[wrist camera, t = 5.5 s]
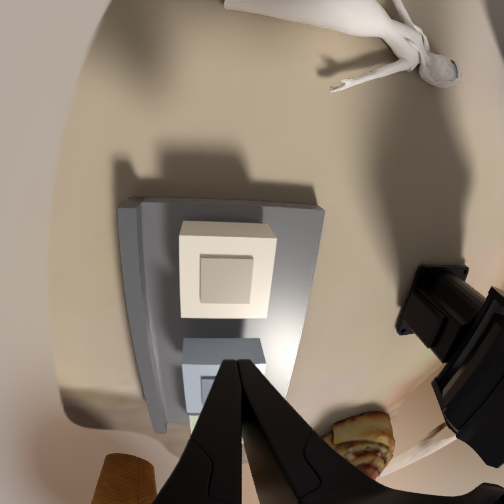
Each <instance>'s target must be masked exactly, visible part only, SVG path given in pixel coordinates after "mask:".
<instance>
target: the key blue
mask: <svg viewBox="0 0 504 504" xmlns="http://www.w3.org/2000/svg"><path fill="white" fill-rule="evenodd" d="M224 359H235V360H236V361H237V359H250V360H251V361H252V362H253V363H254V364H255V365H256V366H257V368H258V369H259V370H260V371H261V372H262V373H263V375H264V374H265V368H266V360H265V356H264V353H263V349H262V345H261V341H260V338H184V341H183V355H182V371H183V382H184V391H185V401H186V409H187V413H200V412H201V410H202V408H203V405H204V403H205V401H206V398H207V396H208V394H209V391H210V389H211V386H212V384H213V382H214V379H215V377H216V375H217V372H218V370H219V367H220V365H221V363H222V360H224Z"/></svg>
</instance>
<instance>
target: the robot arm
mask: <svg viewBox="0 0 504 504" xmlns="http://www.w3.org/2000/svg"><path fill="white" fill-rule="evenodd" d="M468 271H469V268H468V267H467V266H466V265H421V266H420V267H419V268H418V270H417V273H416V276H415V279H414V282H413V285H412V288H411V291H410V294H409V297H408V300H407V303H406V305H405V308H404V311H403V314H402V316H401V319H400V321H399V324H398V327H397V329H396V331H397V333H398V334H399V335H408V334H414V333H415V334H416V335H417V337H418V338H419V339H420V340H421V341H422V342H423V344H424V345H425V346H426V347H427V348H430V349H431V350H432V351H433V353H434V354H435V355H436V356H437V357H438V359H439V360H440V361H441V362H442V363H447V364H446V365H445V366H444V368H443V369H442V371H441V372H440V373H439V375H438V376H437V377H435V378H434V380H433V381H432V382H431V384H432V387H433V389H434V392H435V395H436V397H437V400H438V402H439V405H440V408H441V411H442V413H443V416H444V419H445V421H446V423H447V426H448V428H449V429H451V430H452V431H453V432H454V433H455V434H456V437H457V438H458V439H460V440H462V441H463V442H465V443H467V444H468V445H469V446H470V447H471V448H473V449H474V450H475V451H476V453H477V454H478V455H479V456H480V457H481V458H482V460H483V461H484V462H485V464H486V465H488V466H492V467H495V468H500V467H501V466H502V465H503V464H504V291H503V290H501V289H498V288H495V287H493V286H491V288H490V290H489V292H488V293H489V294H488V296H487V298H485V297H484V296H483V295H481V294H480V293H479V292H478V291H476V290H475V289H474V288H472V287H471V286H470V285H469V284H467V283H466V282H465V280H466V277H467V274H468ZM422 272H423V273H422ZM242 439H243V443H244V447H245V451H246V454H247V458H248V462H249V466H250V470H251V473H252V477H253V481H254V484H255V488H256V492H257V495H258V498H259V502H260V504H504V488H503V487H501V486H499V485H496V484H490V483H482V484H481V485H479V486H478V487H476V488H475V489H474V490H472V491H471V492H469V493H467V494H465V495H461V496H454V497H450V496H437V495H428V494H420V493H413V492H406V491H401V490H395V489H392V488H389V487H386V486H384V485H382V484H380V483H378V482H376V481H375V480H373V479H372V478H371V477H369V476H368V475H366V474H365V473H364V472H362V471H361V470H360V469H358V468H357V467H355V466H354V465H353V464H351V463H350V462H349V461H347V460H346V459H345V458H344V457H342V456H341V455H340V454H339V453H337V452H336V451H335V450H334V449H333V448H332V447H330V446H329V445H328V444H327V443H326V442H325V441H324V440H323V439H322V438H321V437H320V436H319V435H318V434H317V433H316V432H315V431H314V430H312V428H311V427H310V425H309V424H308V423H307V422H306V421H305V420H304V419H303V418H302V417H301V416H300V415H299V414H298V413H297V412H296V410H295V409H294V408H293V407H292V406H291V405H290V404H289V403H288V402H287V401H286V400H285V398H284V397H283V396H282V395H281V394H280V393H279V392H278V391H277V389H276V388H275V387H274V386H273V385H272V384H271V383H270V382H269V380H268V379H267V378H266V377H265V376H264V375H263V373H262V372H261V371H260V370H259V369H258V368H257V366H256V365H255V364H254V363H253V362H252V361H251V360H250V359H237V361H236V360H235V359H224V360H222V363H221V365H220V367H219V370H218V372H217V375H216V377H215V379H214V382H213V384H212V386H211V389H210V391H209V394H208V396H207V398H206V401H205V403H204V405H203V408H202V410H201V412H200V415H199V417H198V420H197V422H196V424H195V427H194V429H193V431H192V434H191V436H190V439H189V440H188V442H187V445H186V447H185V449H184V451H183V453H182V455H181V458H180V460H179V462H178V464H177V465H176V467H175V469H174V470H173V472H172V473H171V475H170V477H169V478H168V480H167V481H166V483H165V484H164V486H163V487H162V489H161V490H160V492H159V493H158V495H157V496H156V498H155V499H154V500H153V502H152V503H151V504H242Z"/></svg>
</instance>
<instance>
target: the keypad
mask: <svg viewBox="0 0 504 504" xmlns="http://www.w3.org/2000/svg"><path fill="white" fill-rule="evenodd" d="M117 211H118V229H119V243H120V255H121V265H122V274H123V283H124V290H125V298H126V305H127V312H128V318H129V324H130V330H131V335H132V341H133V346H134V351H135V356H136V361H137V366H138V370H139V375H140V379H141V383H142V387H143V391H144V395H145V399H146V403H147V407H148V411H149V414H150V418H151V421H152V425H153V428H154V431H155V433H166V430H167V423H183V424H190V419H189V413H187V409H186V401H185V391H184V382H183V371H182V355H183V341H184V338H260V341H261V345H262V349H263V353H264V356H265V360H266V368H265V374H264V376H265V377H266V378H267V379H268V380H269V382H270V383H271V384H272V385H273V386H274V387H275V388H276V389H277V391H278V392H279V393H280V394H281V395H282V396H283V397H284V398H286V394H287V390H288V386H289V383H290V379H291V375H292V371H293V367H294V363H295V359H296V354H297V350H298V346H299V342H300V337H301V333H302V329H303V324H304V320H305V315H306V310H307V306H308V301H309V296H310V291H311V286H312V281H313V276H314V271H315V266H316V260H317V255H318V249H319V244H320V238H321V232H322V226H323V220H324V214H325V210H324V209H322V208H321V207H320V206H318V205H311V204H298V203H284V202H268V201H250V200H229V199H203V198H159V197H129V198H128V199H127V200H126V201H125V202H124V203H122V204H121V205H120V206H119V207H118V208H117ZM183 221H209V222H238V223H262V224H269V226H270V228H271V229H272V231H273V233H274V234H275V236H276V238H277V243H276V251H275V259H274V267H273V275H272V282H271V290H270V297H269V305H268V312H267V318H181V303H180V270H179V234H180V230H181V227H182V223H183Z"/></svg>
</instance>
